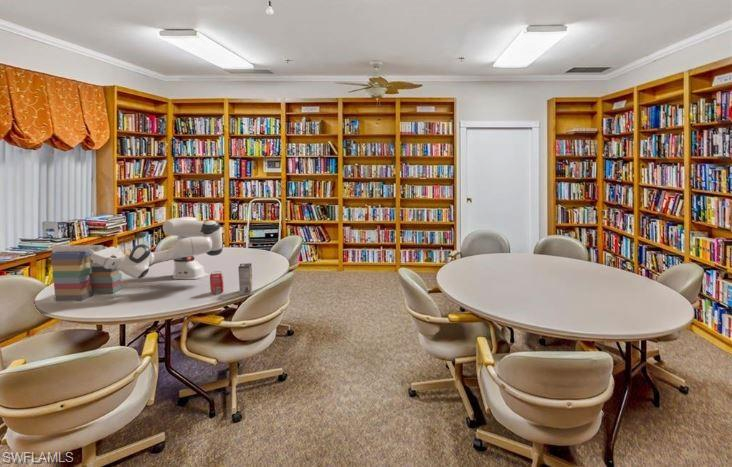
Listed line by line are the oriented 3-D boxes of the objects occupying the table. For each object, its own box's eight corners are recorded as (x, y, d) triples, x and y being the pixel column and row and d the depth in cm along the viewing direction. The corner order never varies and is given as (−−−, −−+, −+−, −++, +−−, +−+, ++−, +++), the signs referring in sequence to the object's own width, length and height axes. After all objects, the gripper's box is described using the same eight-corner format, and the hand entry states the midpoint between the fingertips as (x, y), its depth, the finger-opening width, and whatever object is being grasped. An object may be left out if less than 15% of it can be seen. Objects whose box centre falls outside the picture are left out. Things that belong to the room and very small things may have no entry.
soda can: (218, 290, 238) (217, 270, 236) (226, 292, 234) (225, 272, 232) (208, 293, 232) (207, 272, 230) (215, 295, 228) (214, 274, 226)
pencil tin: (103, 250, 221) (102, 245, 220) (99, 251, 217) (99, 246, 217) (56, 251, 219) (56, 245, 218) (52, 252, 215) (51, 246, 215)
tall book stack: (94, 295, 227) (89, 249, 223) (83, 300, 217) (78, 253, 213) (67, 295, 226) (62, 249, 222) (55, 301, 216) (50, 253, 212)
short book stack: (122, 288, 240) (120, 262, 237) (113, 293, 230) (111, 266, 227) (94, 289, 238) (91, 262, 236) (84, 294, 229) (81, 266, 226)
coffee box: (241, 290, 238) (240, 263, 236) (252, 289, 240) (251, 263, 237) (239, 294, 229) (238, 267, 227) (251, 294, 231) (250, 266, 228)
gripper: (129, 251, 230) (106, 239, 228) (109, 259, 210) (84, 246, 208) (124, 261, 231) (101, 249, 229) (104, 269, 211) (78, 256, 209)
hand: (93, 247), depth 218 cm, fingers open, 8 cm apart
